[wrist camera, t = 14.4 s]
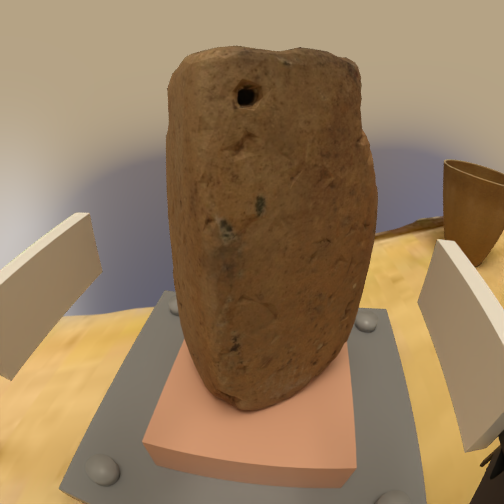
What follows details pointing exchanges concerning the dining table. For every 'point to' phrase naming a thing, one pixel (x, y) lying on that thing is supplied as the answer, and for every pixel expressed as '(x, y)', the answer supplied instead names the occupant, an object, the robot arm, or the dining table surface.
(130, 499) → the tower base
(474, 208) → the plant pot
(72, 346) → the dining table surface
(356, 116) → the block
